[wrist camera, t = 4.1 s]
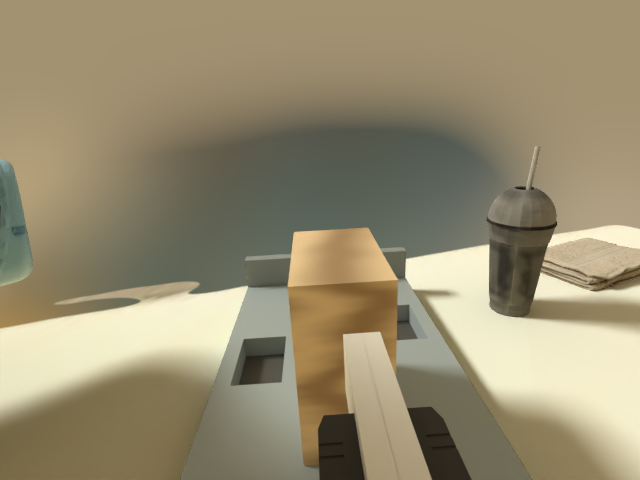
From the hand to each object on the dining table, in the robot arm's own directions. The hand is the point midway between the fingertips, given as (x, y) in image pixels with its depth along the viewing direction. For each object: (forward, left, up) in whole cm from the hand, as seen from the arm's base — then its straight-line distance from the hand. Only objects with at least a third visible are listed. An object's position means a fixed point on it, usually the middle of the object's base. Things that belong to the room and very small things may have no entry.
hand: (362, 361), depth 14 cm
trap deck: (0, +18, -14) cm, 23 cm away
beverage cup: (+23, +27, -15) cm, 38 cm away
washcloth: (+42, +38, -15) cm, 59 cm away
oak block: (0, +10, -12) cm, 16 cm away
